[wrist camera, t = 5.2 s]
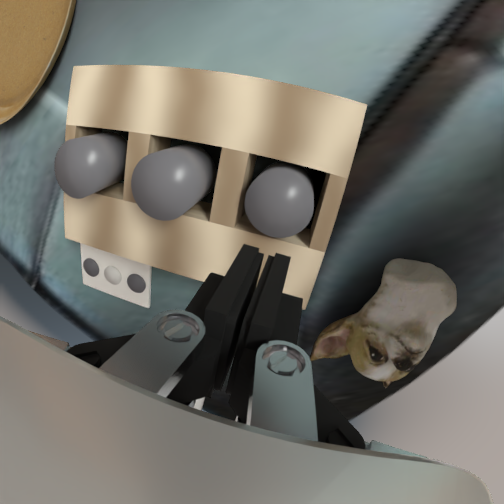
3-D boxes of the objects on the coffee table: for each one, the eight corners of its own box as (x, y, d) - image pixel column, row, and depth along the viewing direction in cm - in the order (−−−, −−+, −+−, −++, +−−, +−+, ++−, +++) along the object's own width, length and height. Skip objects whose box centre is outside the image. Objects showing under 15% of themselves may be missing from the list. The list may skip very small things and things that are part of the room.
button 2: (320, 169, 24) (321, 181, 20) (305, 222, 26) (303, 245, 22) (263, 154, 24) (252, 163, 20) (251, 208, 26) (238, 228, 22)
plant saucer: (100, 79, 24) (79, 78, 21) (-19, 146, 30) (-37, 151, 27) (94, -86, 15) (78, -95, 12) (-24, 7, 20) (-39, 6, 18)
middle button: (221, 149, 23) (199, 158, 19) (211, 206, 25) (189, 228, 21) (165, 139, 23) (134, 147, 19) (159, 194, 25) (129, 212, 21)
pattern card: (151, 261, 31) (149, 264, 30) (150, 306, 33) (147, 309, 33) (82, 239, 32) (79, 241, 31) (85, 282, 34) (82, 284, 33)
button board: (358, 106, 22) (367, 104, 18) (307, 284, 29) (305, 309, 25) (100, 68, 23) (73, 66, 20) (88, 223, 30) (65, 237, 27)
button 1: (134, 134, 23) (100, 142, 19) (129, 187, 25) (96, 204, 21) (92, 129, 24) (55, 136, 20) (88, 178, 26) (54, 193, 22)
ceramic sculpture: (506, 323, 17) (393, 432, 25) (470, 265, 24) (388, 369, 32) (399, 268, 17) (295, 404, 25) (379, 215, 25) (305, 338, 32)
